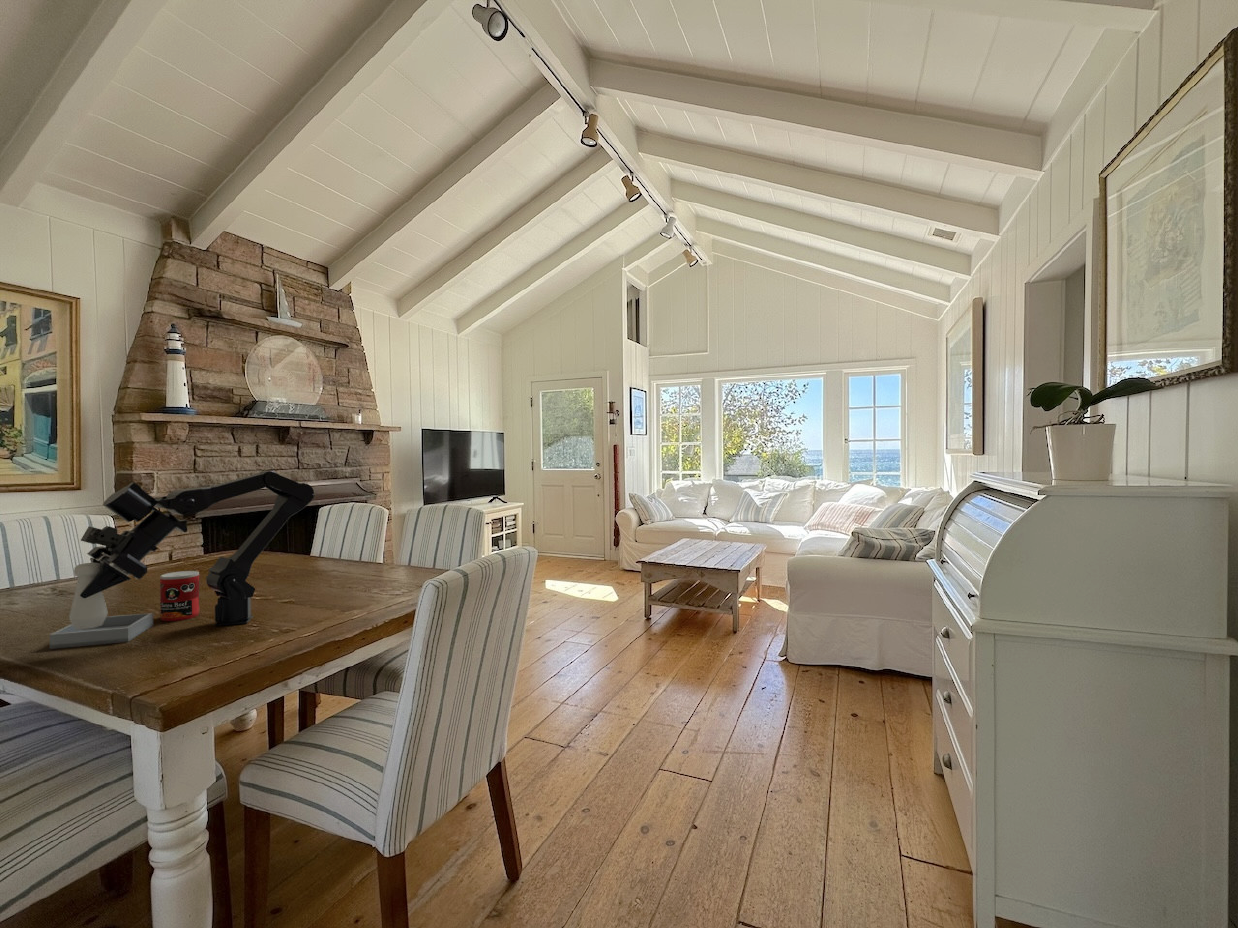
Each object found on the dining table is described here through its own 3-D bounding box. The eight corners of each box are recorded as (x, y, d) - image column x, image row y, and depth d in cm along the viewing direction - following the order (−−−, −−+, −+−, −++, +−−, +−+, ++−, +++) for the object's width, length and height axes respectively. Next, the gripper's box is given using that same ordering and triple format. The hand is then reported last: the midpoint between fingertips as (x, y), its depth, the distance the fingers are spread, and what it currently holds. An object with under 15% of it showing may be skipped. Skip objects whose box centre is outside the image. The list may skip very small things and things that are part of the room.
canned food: (153, 622, 137) (153, 577, 137) (171, 614, 145) (171, 571, 145) (189, 620, 139) (189, 576, 139) (205, 612, 147) (205, 570, 147)
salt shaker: (83, 631, 112) (83, 566, 112) (61, 629, 113) (60, 565, 113) (115, 623, 118) (114, 561, 118) (93, 621, 119) (93, 560, 119)
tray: (153, 625, 135) (153, 612, 135) (128, 641, 122) (128, 627, 122) (83, 631, 130) (82, 618, 130) (49, 649, 118) (49, 634, 118)
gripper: (99, 509, 124) (28, 567, 115) (126, 514, 113) (50, 578, 104) (145, 540, 131) (81, 597, 122) (174, 547, 120) (107, 610, 111)
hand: (79, 595), depth 114 cm, fingers closed on salt shaker, 3 cm apart
